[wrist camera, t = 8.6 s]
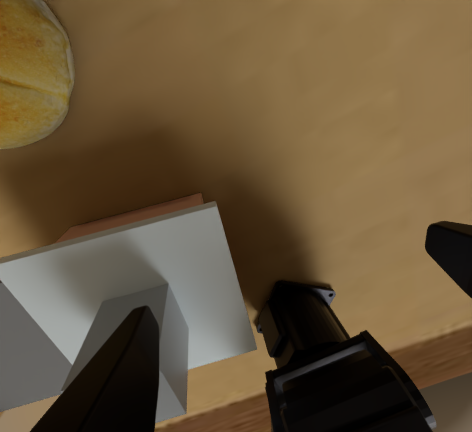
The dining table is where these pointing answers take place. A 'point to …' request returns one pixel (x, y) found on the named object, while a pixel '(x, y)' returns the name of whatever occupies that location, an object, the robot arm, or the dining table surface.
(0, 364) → the mat
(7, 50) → the bread roll
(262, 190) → the dining table surface
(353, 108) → the dining table surface
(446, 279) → the dining table surface
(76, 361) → the lid
